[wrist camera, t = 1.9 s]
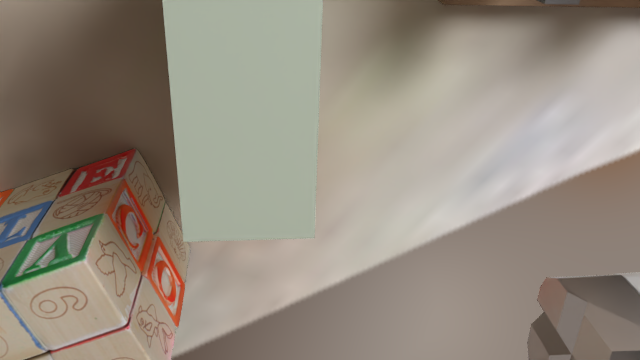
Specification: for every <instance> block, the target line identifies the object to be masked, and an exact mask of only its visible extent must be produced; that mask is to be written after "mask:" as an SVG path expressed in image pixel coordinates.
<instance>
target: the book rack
mask: <svg viewBox="0 0 640 360" xmlns="http://www.w3.org/2000/svg"><path fill="white" fill-rule="evenodd" d="M438 1H439V2H441V3H442V4H444V5H502V6H569V7H635V8H640V0H438Z"/></svg>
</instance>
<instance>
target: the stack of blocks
mask: <svg viewBox="0 0 640 360" xmlns="http://www.w3.org/2000/svg"><path fill="white" fill-rule="evenodd" d="M189 255H190V247H189V245H188V243H187V242H183V234H182V232H181V230H180V228H179V226H178V224H177V222H176V221H175V219H174V217H173V215H172V213H171V211H170V209H169V207H168V205H167V204H166V202H165V199H164V197H163V195H162V193H161V191H160V189H159V187H158V185H157V183H156V181H155V179H154V177H153V175H152V174H151V172H150V170H149V168H148V166H147V165H146V163H145V161H144V159H143V158H142V156H141V155H140V153H139V151H138V150H137V149H136V148H135V149H132V150H129V151H126V152H124V153H121V154H118V155H115V156H112V157H110V158H107V159H104V160H101V161H98V162H95V163H92V164H90V165H87V166H84V167H80V168H79V169H77V170H74V169H69V170H66V171H63V172H60V173H57V174H54V175H51V176H48V177H46V178H43V179H40V180H37V181H34V182H31V183H28V184H25V185H22V186H20V187H18V188H16V189H10V190H7V191H3V192H0V360H171V355H172V350H173V345H174V340H175V333H176V328H178V326H179V321H180V315H181V309H182V303H183V297H184V291H185V282H186V275H187V268H188V261H189Z"/></svg>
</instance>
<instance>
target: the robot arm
mask: <svg viewBox="0 0 640 360" xmlns="http://www.w3.org/2000/svg"><path fill="white" fill-rule="evenodd" d="M537 301H538V302H539V304H540V306H541V307H542V309H543V311H544V313H542V314H541V315H540V316H539V318H537V319H536V320H535V321H534V322H533V323H532V324H531V327H530V332H529V337H528V342H527V344H528V357H529V360H640V273H621V274H613V275H604V276H572V277H547V278H546V279H545V281H544V282H543V284H542V285H541V287H540V291H539V295H538V298H537Z"/></svg>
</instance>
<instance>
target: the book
mask: <svg viewBox="0 0 640 360" xmlns="http://www.w3.org/2000/svg"><path fill="white" fill-rule="evenodd" d="M162 3H163V14H164V26H165V37H166V49H167V60H168V72H169V83H170V94H171V106H172V117H173V129H174V140H175V152H176V163H177V175H178V186H179V197H180V209H181V220H182V232H183V242H195V241H231V240H267V239H304V238H314V237H315V213H316V180H317V151H318V123H319V94H320V66H321V37H322V9H323V0H162Z"/></svg>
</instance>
